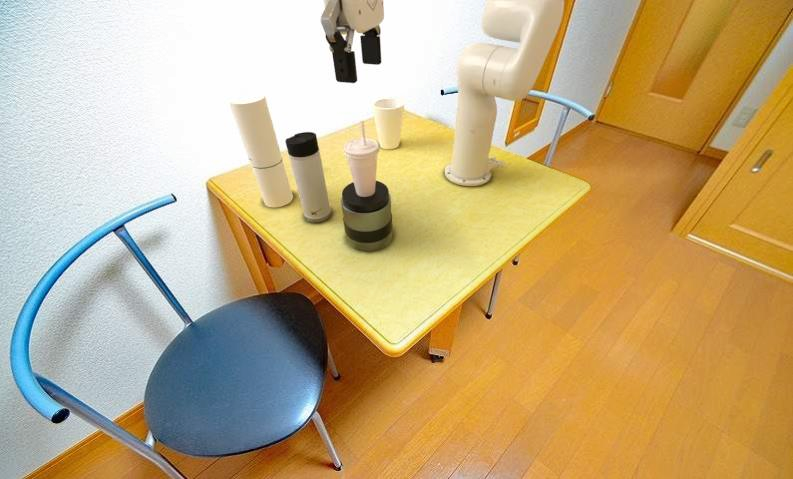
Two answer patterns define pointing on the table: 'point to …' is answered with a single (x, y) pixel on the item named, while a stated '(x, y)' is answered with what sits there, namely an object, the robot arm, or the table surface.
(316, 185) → the travel mug
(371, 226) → the jar
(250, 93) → the cylindrical container
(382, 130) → the foam cup
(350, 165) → the smoothie
